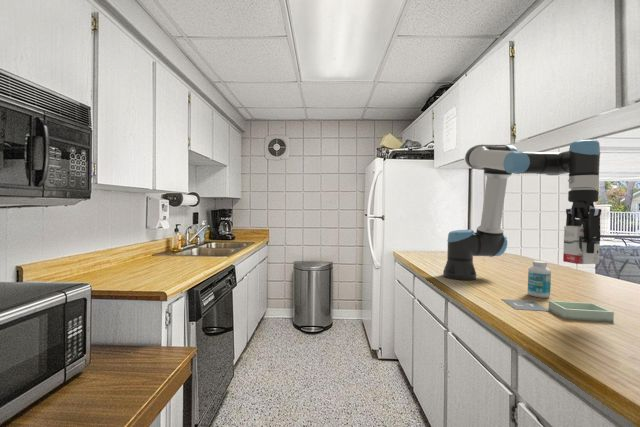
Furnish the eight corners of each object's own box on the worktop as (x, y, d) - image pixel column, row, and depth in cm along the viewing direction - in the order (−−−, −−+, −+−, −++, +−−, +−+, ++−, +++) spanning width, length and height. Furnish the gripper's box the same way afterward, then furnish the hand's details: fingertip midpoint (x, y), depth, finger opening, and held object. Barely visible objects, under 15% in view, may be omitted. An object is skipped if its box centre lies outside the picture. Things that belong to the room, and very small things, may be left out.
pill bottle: (523, 294, 130) (524, 260, 129) (534, 292, 133) (535, 259, 132) (542, 299, 123) (543, 263, 122) (554, 297, 126) (555, 262, 126)
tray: (548, 309, 110) (548, 300, 110) (592, 312, 108) (593, 303, 108) (564, 318, 101) (565, 309, 101) (613, 321, 99) (613, 312, 99)
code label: (501, 299, 121) (501, 299, 121) (533, 301, 120) (533, 300, 120) (515, 309, 110) (515, 308, 110) (551, 311, 108) (551, 311, 108)
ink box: (576, 264, 101) (577, 226, 101) (562, 261, 106) (563, 225, 106) (600, 264, 102) (601, 226, 102) (585, 261, 107) (586, 225, 107)
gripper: (553, 191, 114) (551, 257, 114) (589, 187, 95) (587, 266, 95) (577, 191, 112) (575, 257, 113) (618, 187, 94) (616, 267, 94)
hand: (580, 261), depth 104 cm, fingers closed on ink box, 6 cm apart
